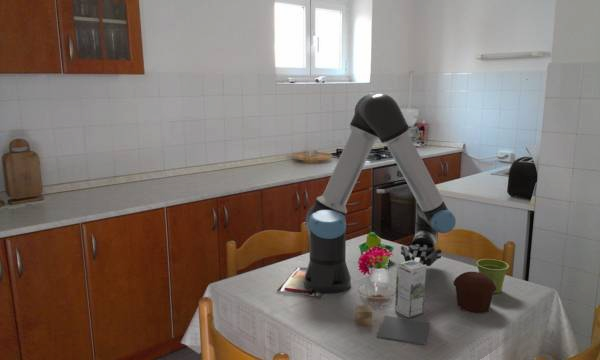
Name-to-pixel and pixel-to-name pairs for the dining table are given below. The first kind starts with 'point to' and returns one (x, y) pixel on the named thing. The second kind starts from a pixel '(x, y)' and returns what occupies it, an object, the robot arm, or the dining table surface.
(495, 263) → the plant pot
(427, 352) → the dining table surface
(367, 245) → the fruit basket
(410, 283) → the syrup box
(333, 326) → the dining table surface
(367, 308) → the oak block
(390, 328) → the rubber mat
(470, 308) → the muffin
